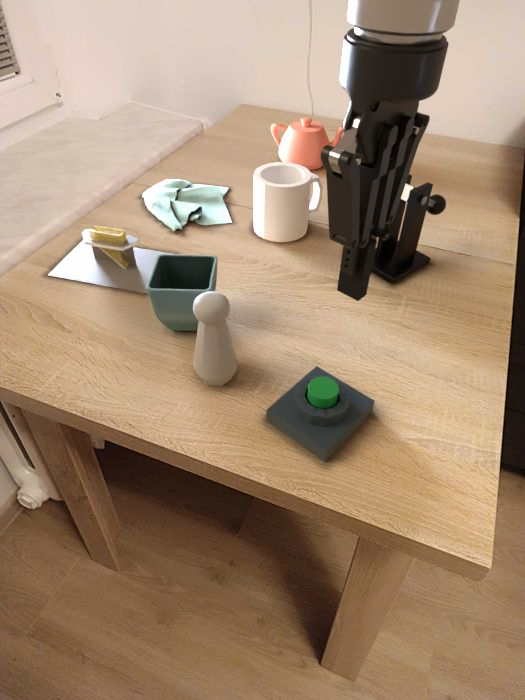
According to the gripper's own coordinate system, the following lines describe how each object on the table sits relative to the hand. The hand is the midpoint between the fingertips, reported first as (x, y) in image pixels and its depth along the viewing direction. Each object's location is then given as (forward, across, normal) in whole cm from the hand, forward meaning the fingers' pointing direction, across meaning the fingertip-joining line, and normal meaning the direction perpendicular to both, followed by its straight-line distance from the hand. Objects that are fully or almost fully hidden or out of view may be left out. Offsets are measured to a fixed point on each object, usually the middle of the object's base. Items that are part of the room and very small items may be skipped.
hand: (351, 292), depth 52 cm
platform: (+18, +1, -46) cm, 49 cm away
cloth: (+18, -22, -52) cm, 59 cm away
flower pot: (+18, +2, -25) cm, 31 cm away
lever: (+8, -36, -11) cm, 38 cm away
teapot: (+18, -56, -49) cm, 76 cm away
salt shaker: (+18, +7, -14) cm, 24 cm away
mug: (+18, -29, -33) cm, 47 cm away
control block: (+17, +3, 0) cm, 18 cm away
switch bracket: (+17, -32, -11) cm, 38 cm away
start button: (+14, +3, 0) cm, 14 cm away
